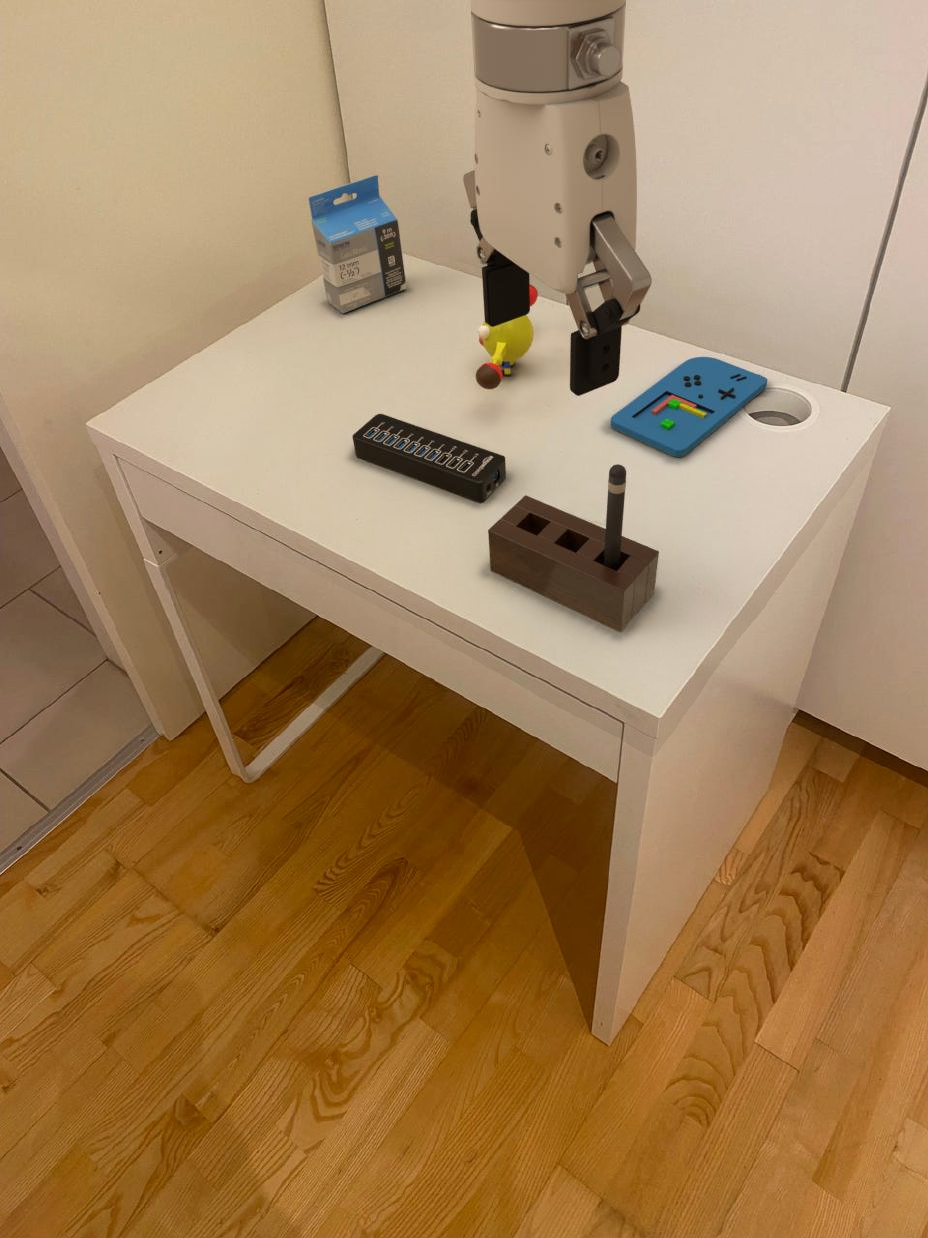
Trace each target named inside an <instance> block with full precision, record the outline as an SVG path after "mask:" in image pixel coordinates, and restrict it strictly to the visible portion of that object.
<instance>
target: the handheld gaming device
mask: <svg viewBox="0 0 928 1238" xmlns="http://www.w3.org/2000/svg"><path fill="white" fill-rule="evenodd" d="M767 385H768V378H767V377H765V376H763V375H760V374H758V373H755V372H753V371H750V370H748V369H744V368H742V367H740V366H737V365H735V364H732V363H729V362H727V361H724V360H722V359H719V358H716V357H711V356H696V357H691V358H689V359H686V360H684V361H683V362H682V363H680V364H679V365H678V366H677V367H675V368H674V369H673V370H671V371H670V372H668V374H666V375H665V376H663V377H662V378H661V379H659V380H658V381H657V382H655V383H654V384H652V386H650V387H648V389H646V390H645V391H643V392H642V393H641V394H640V395H638V396H637V397H636V398H634V399H633V400H632V401H630V402H629V403H627V404H626V405H625V406H624V407H622V408H621V409H620V410H618V411H617V412H615V414H613V415H612V416H611V417H610V427H611V428H612V429H614V430H615V431H618V432H620V433H621V434H624V435H626V436H628V437H631V438H633V439H635V440H637V441H640V442H642V443H643V444H646V445H648V446H650V447H653V448H655V449H657V450H660V451H661V452H663V453H666V454H668V455H670V456H672V457H676V458H681V457H684V456H686V455H687V454H689V453H690V452H691V451H692V450H694V448H695V447H697V446H698V445H700V444H701V443H702V442H703V441H704V440H705V439H706V438H707V437H709V436H710V435H711V434H712V433H714V432H715V431H716V430H717V429H718V428H719V427H721V426H722V425H723V424H725V422H727V421H728V420H729V419H730V418H732V416H734V415H735V414H736V413H737V412H739V411H740V410H741V409H742V408H743V407H744V406H746V405H747V404H749V402H751V401H752V400H753V399H755V397H757V396H759V394H760V393H762V392H763V391H764V390H765V389H766V388H767Z"/></svg>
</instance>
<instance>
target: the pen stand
mask: <svg viewBox="0 0 928 1238" xmlns="http://www.w3.org/2000/svg"><path fill="white" fill-rule="evenodd" d="M605 533H606V527H605V528H604V527H602V526H600V525H598V524H596V523H593V522H591V521H588V520H586V519H583V518H581V517H579V516H576V515H574V514H571V513H569V512H567V511H564V510H562V509H560V508H557V507H554V506H553V505H551V504H548V503H545V502H543V501H541V500H539V499H536V498H534V497H532V496H529V495H526V494H525V495H524V496H523V497H522V498H521V499H520V500H518V501H517V502H516V503H515V504H514V505H513V506H512V507H511V508H510V509H509V510H508V511H507V512H506V513H505V514H504V515H502V517H500V518H499V519H498V520H497V521H496V522H495V523H494V524H493V525H491V527H490V528H489V529H488V530H487V535H488V548H489V549H488V551H489V566H490V567H489V568H490V571H491V572H493V573H495V574H497V575H499V576H500V577H502V578H505V579H507V580H509V581H511V582H513V583H515V584H518V585H520V586H522V587H524V588H526V589H528V590H531V591H532V592H535V593H537V594H538V595H541V596H543V597H545V598H548V599H549V600H552V601H553V602H555V603H557V604H560V605H562V606H564V607H566V608H568V609H570V610H572V611H575V612H576V613H579V614H581V615H582V616H585V617H587V618H590V619H591V620H593V621H595V622H598V623H600V624H602V625H604V626H606V627H608V628H610V629H612V630H614V631H617V632H619V633H622V632H623V631H624V629H625V628H626V627H627V626H628V624H630V622H631V621H632V620H633V619H634V617H636V616H637V614H638V613H639V612H640V611H641V610H642V608H643V607H644V606H645V604H646V603H647V602H648V601H649V600H650V599H651V597H652V596H653V595H654V594H655V591H656V582H657V581H656V580H657V575H658V563H659V557H660V556H659V555H660V551H658V550H657V549H654V548H652V547H649V546H647V545H645V544H643V543H640V542H638V541H635V540H633V539H630V538H628V537H626V536H623V535H622V540H621V553H620V567H619V569H618V570H617V571H616V570H613V569H611V568H609V567H606V566H604V551H605Z"/></svg>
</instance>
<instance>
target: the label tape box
mask: <svg viewBox="0 0 928 1238" xmlns="http://www.w3.org/2000/svg"><path fill="white" fill-rule="evenodd" d="M344 194H346V195H347V196H350V195H353V194H356V196H355V197H354V198H352V199H351V198H350V199H348V200H346V201H342V202H339V203H336V204H335V200H338V199H340V198H342V197H343V195H344ZM308 204H309V209H310V216H311V225H312V231H313V236H314V241H315V245H316V249H317V254H318V261H319V265H320V270H321V275H322V281H323V285H324V290H325V295H326V299H327V303H328V304H330V305H331V306H332V307H333V308H334V309H335V310H337V311H338V312H340V313H341V314H346V313H349V312H351V311H353V310H355V309H359V308H361V307H363V306H366V305H369V304H371V303H373V302H376V301H379V300H381V299H384V298H386V297H388V296H391V295H393V294H396V293H399V292H401V291H404V290H407V280H406V279H407V278H406V272H405V264H404V259H403V250H402V242H401V234H400V226H399V220H398V218H397V217H396V215H395V214H394V213H393V212H392V210H391V208H389V206H388V205H387V203H386V202H385V201H384V199H383V198H382V197H381V195H380V185H379V175H378V174H376V175H375V174H374V175H372V176H368V177H365V178H363V179H362V178H361V179H359V180H356V181H352V182H350V183H346V184H344V185H340V186H337V187H335V188H331V189H329V190H326V191H322V192H320V193H319V192H318V193H316V194H313V195H310V196H308Z"/></svg>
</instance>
